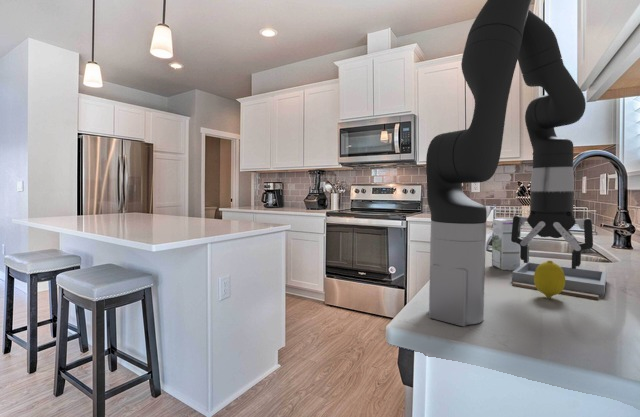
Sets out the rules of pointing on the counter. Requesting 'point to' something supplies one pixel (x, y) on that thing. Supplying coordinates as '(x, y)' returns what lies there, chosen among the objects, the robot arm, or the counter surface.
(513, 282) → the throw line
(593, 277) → the tray
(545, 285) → the lemon
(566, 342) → the counter surface
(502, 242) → the syrup box
